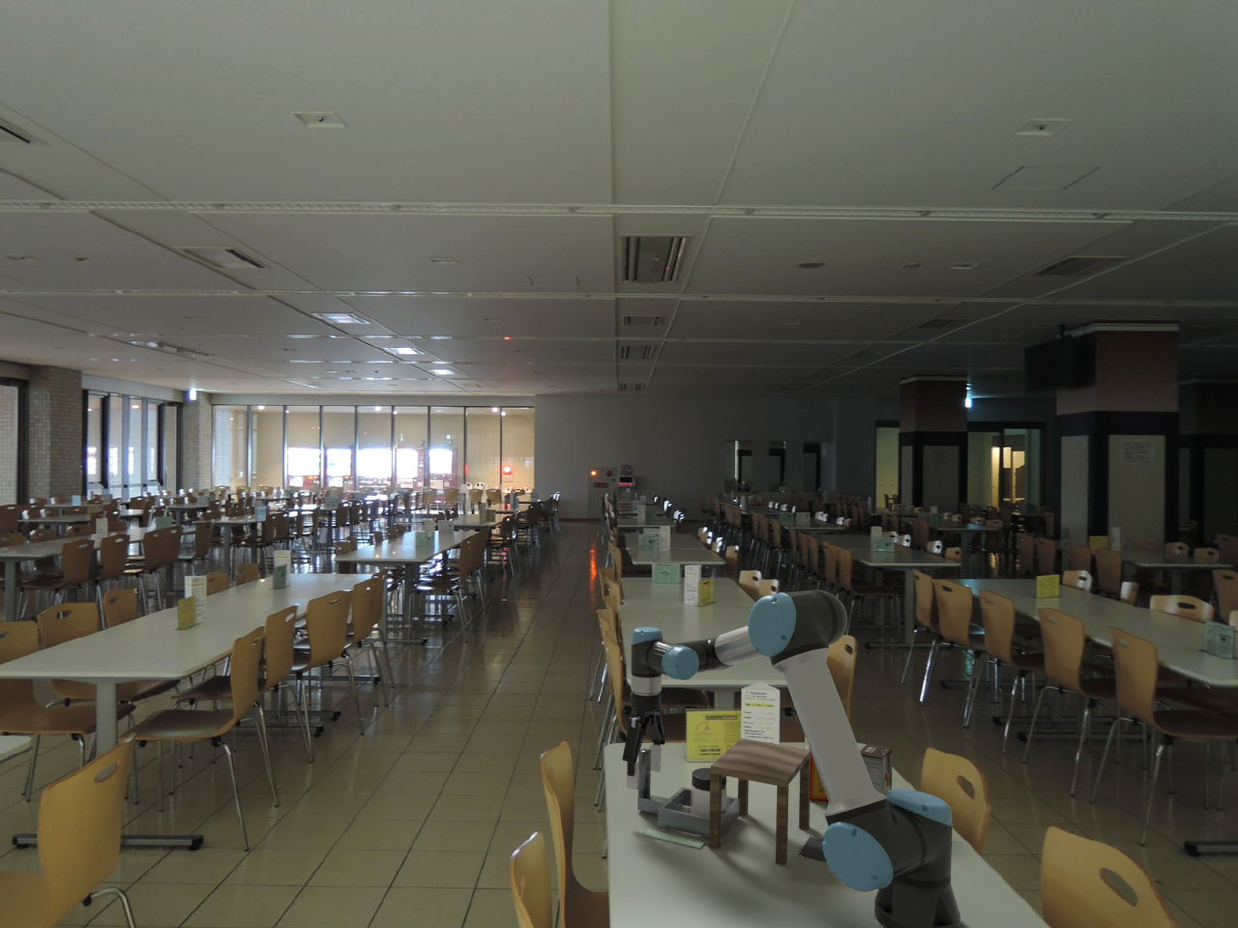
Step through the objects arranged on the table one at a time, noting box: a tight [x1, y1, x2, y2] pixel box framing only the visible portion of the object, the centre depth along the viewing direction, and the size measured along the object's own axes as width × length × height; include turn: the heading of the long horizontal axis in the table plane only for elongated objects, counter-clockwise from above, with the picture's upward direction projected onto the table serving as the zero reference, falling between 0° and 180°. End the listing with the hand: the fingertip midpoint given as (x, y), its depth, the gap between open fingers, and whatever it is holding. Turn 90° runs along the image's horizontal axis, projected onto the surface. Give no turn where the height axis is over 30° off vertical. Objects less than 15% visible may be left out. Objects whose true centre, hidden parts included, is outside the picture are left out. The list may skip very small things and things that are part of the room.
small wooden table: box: [708, 737, 811, 866], centre depth 188 cm, size 22×17×18 cm
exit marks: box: [641, 828, 706, 850], centre depth 196 cm, size 25×14×1 cm, turn 154°
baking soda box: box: [804, 736, 829, 803], centre depth 214 cm, size 10×6×16 cm
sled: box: [637, 748, 740, 839], centre depth 197 cm, size 15×24×14 cm, turn 64°
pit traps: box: [798, 836, 827, 863], centre depth 181 cm, size 10×14×1 cm
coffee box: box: [860, 743, 893, 796], centre depth 201 cm, size 9×6×16 cm
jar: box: [690, 767, 728, 818], centre depth 194 cm, size 9×8×12 cm
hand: (644, 779), depth 202 cm, fingers open, 13 cm apart
